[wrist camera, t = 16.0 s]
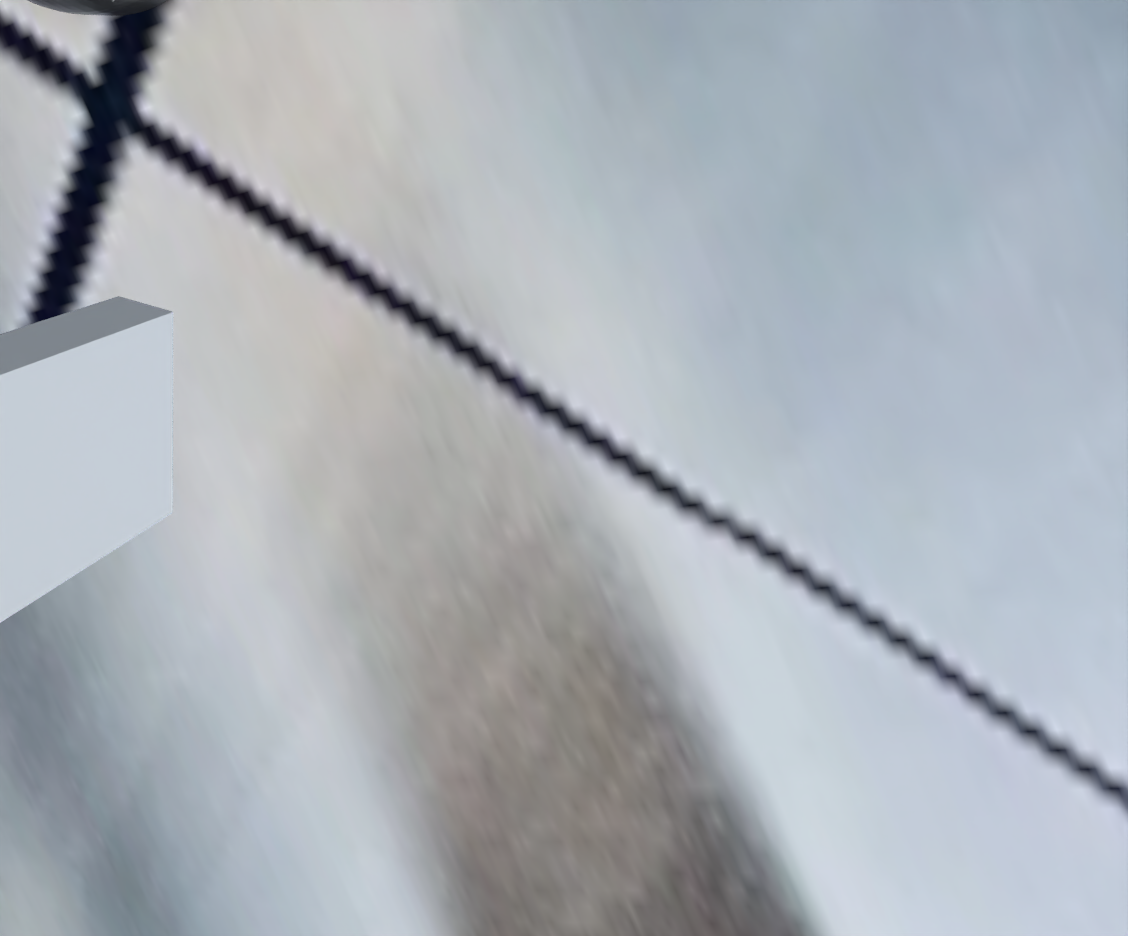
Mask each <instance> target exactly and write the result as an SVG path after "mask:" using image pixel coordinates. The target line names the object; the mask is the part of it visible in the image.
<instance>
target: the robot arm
mask: <svg viewBox="0 0 1128 936" xmlns="http://www.w3.org/2000/svg"><path fill="white" fill-rule="evenodd" d="M28 1H30V2H32V3H35V4H37V5H40V6H43V7H46V8H50V9H53V10H57V11H61V12H66V13H72V14H84V15H111V16H112V15H128V14H134V13H139V12H143V11H146V10H148V9H151V8H154V7H156V6H158V5H160V4H162V3H164V2H166V1H167V0H28ZM172 513H173V312H172V311H168V310H165V309H161V308H158V307H154V306H151V305H147V304H144V303H140V302H137V301H133V300H130V299H126V298H123V297H119V296H118V297H115V298H112V299H109V300H106V301H103V302H99V303H96V304H93V305H90V306H87V307H84V308H81V309H78V310H75V311H71V312H68V313H65V314H62V315H59V316H56V317H53V318H50V319H46V320H43V321H40V322H37V323H34V324H31V325H28V326H25V327H21V328H18V329H15V330H12V331H9V332H6V333H3V334H0V622H2V621H4V620H5V619H7V618H8V617H10V616H11V615H13V614H15V613H16V612H18V611H19V610H21V609H22V608H24V607H26V606H27V605H29V604H30V603H32V602H33V601H35V600H37V599H38V598H40V597H41V596H43V595H44V594H46V593H48V592H49V591H51V590H52V589H54V588H55V587H57V586H59V585H60V584H62V583H63V582H65V581H66V580H68V579H70V578H71V577H73V576H74V575H76V574H77V573H79V572H81V571H82V570H84V569H85V568H87V567H88V566H90V565H92V564H93V563H95V562H96V561H98V560H99V559H101V558H103V557H104V556H106V555H107V554H109V553H110V552H112V551H114V550H115V549H117V548H118V547H120V546H121V545H123V544H125V543H126V542H128V541H129V540H131V539H132V538H134V537H135V536H137V535H139V534H140V533H142V532H143V531H145V530H146V529H148V528H150V527H151V526H153V525H154V524H156V523H157V522H159V521H161V520H162V519H164V518H165V517H167V516H168V515H170V514H172Z"/></svg>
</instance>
